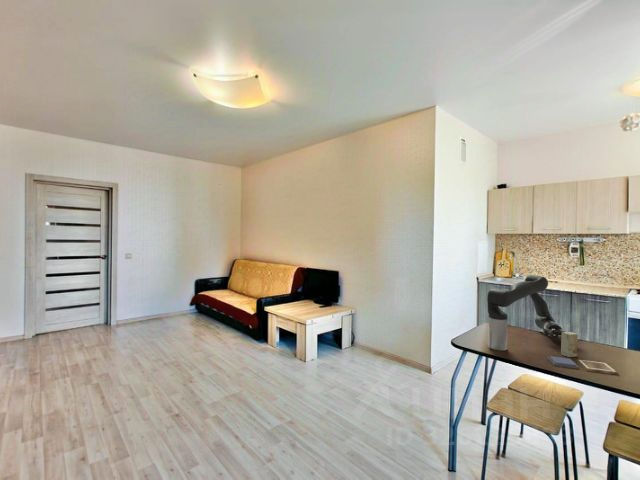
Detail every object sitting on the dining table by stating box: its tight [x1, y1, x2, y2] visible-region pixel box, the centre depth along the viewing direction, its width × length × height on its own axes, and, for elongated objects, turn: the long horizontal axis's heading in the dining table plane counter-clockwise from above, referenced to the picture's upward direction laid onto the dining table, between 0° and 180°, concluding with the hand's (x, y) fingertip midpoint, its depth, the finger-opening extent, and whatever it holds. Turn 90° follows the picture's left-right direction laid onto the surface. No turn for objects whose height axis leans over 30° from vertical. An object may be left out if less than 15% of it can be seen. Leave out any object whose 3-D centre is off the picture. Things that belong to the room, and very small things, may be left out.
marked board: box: [575, 358, 619, 376], centre depth 151 cm, size 12×12×1 cm
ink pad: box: [547, 355, 580, 370], centre depth 156 cm, size 10×10×2 cm
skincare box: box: [560, 331, 579, 358], centre depth 166 cm, size 6×4×12 cm
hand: (562, 336), depth 177 cm, fingers open, 8 cm apart
